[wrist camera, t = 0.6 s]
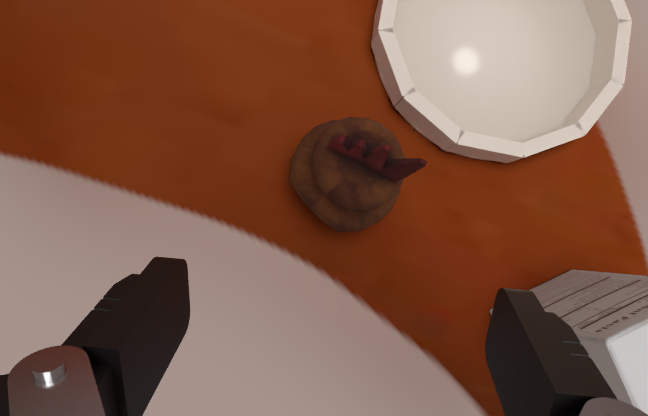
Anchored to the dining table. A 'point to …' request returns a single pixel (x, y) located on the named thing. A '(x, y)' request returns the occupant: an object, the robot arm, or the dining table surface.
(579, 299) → the supplement box
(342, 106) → the dining table surface
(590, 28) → the ceramic dish
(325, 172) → the wooden figurine
